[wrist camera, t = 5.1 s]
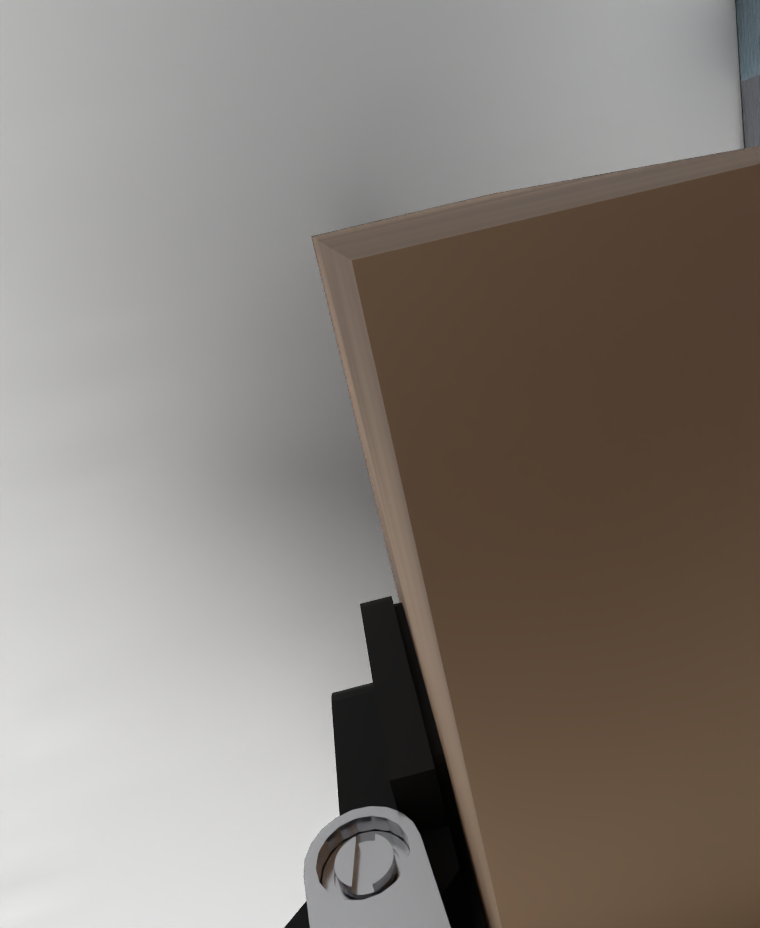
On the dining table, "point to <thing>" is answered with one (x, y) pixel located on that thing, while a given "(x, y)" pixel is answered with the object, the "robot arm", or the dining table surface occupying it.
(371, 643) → the robot arm
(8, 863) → the dining table surface
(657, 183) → the brown rectangular block
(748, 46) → the door track
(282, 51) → the dining table surface
